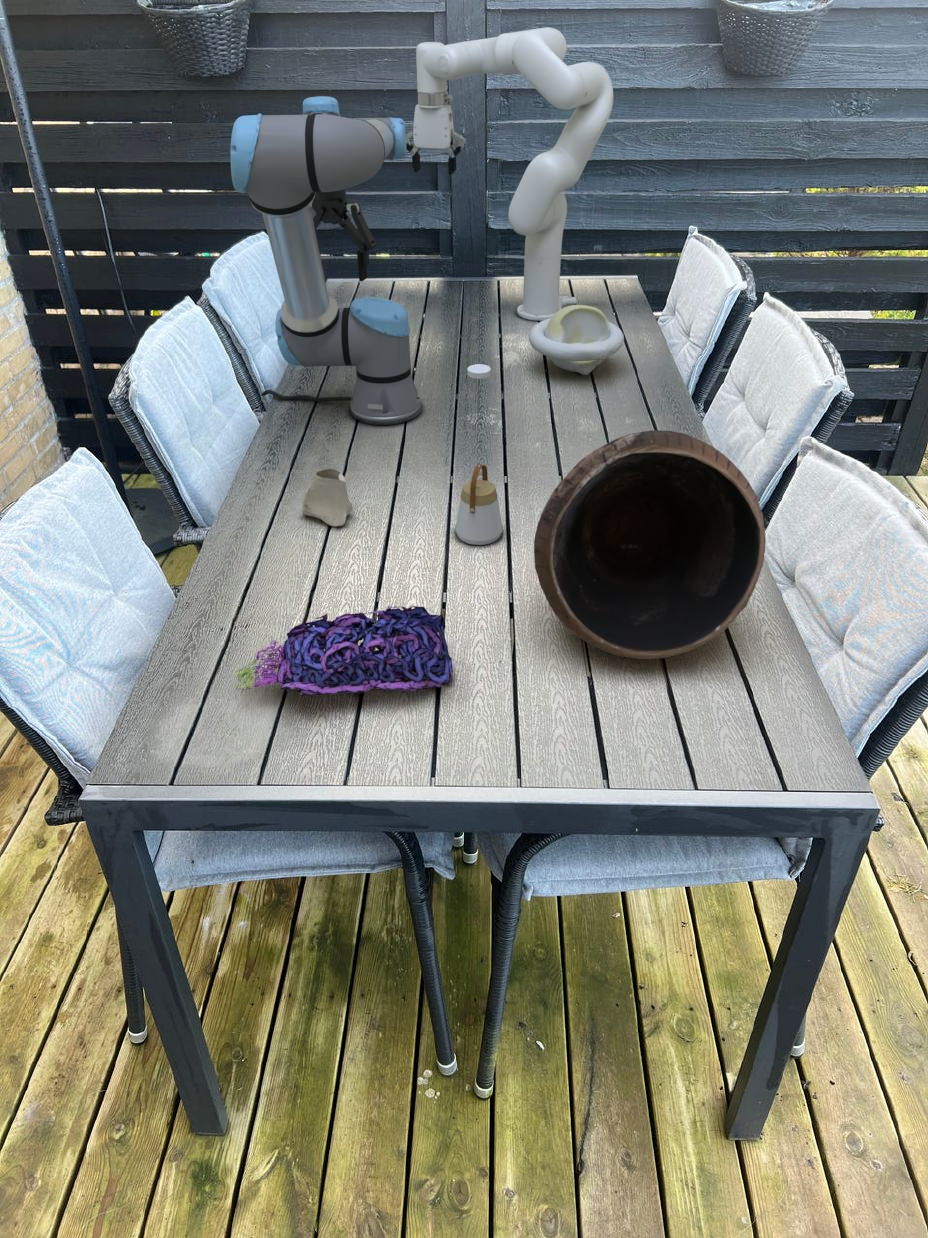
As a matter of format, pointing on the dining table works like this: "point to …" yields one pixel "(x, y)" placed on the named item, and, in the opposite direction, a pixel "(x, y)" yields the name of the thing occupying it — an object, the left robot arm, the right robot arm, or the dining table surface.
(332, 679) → the decorative ornament
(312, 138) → the left robot arm
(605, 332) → the hat
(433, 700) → the dining table surface
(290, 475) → the dining table surface
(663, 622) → the pot
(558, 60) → the right robot arm
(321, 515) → the grey irregular lump
